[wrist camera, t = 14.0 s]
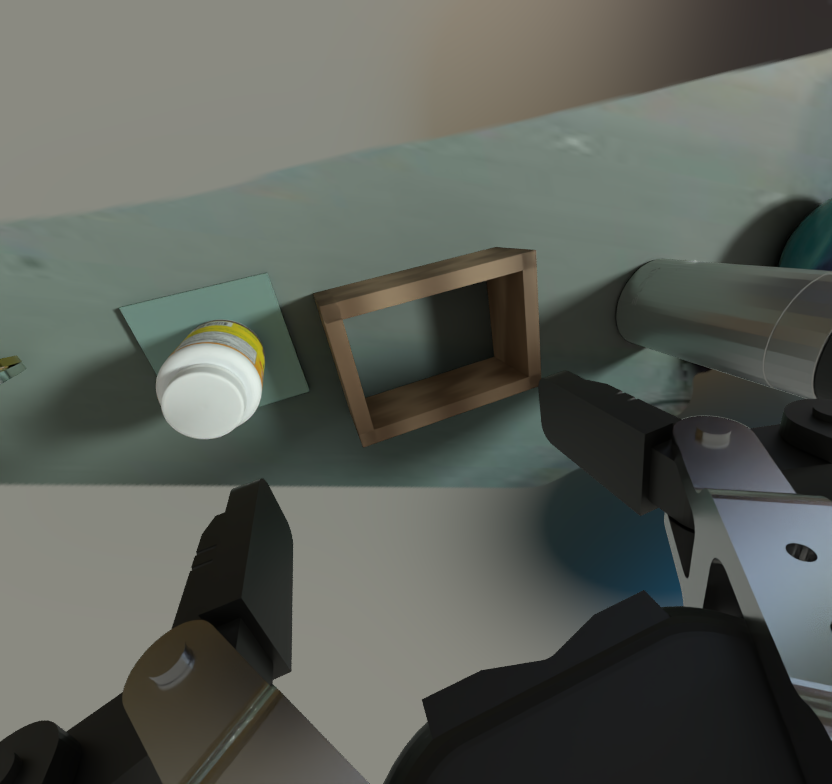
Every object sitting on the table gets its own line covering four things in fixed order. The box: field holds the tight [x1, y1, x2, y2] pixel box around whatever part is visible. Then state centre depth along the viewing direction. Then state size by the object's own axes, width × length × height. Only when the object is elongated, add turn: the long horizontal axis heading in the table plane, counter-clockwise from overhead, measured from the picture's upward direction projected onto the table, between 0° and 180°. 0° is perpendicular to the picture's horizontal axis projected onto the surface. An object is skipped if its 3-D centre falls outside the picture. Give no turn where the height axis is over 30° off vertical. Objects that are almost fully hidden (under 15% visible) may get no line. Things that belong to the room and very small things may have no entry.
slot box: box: [313, 247, 541, 447], centre depth 31 cm, size 16×11×6 cm
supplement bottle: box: [156, 319, 265, 439], centre depth 24 cm, size 6×6×10 cm
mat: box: [119, 273, 309, 407], centre depth 29 cm, size 10×10×1 cm
